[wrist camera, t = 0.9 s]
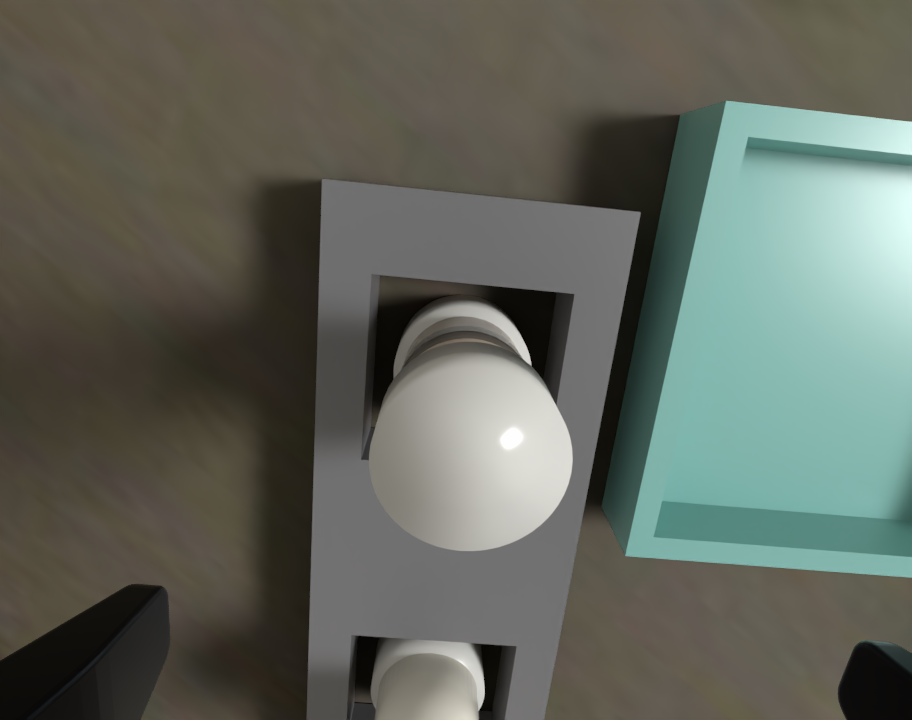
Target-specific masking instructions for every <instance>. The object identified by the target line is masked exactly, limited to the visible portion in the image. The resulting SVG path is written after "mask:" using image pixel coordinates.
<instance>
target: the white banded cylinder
mask: <svg viewBox="0 0 912 720" xmlns="http://www.w3.org/2000/svg"><path fill="white" fill-rule="evenodd" d="M572 463H573V455H572V445H571V439H570V435H569V432H568V429H567V426H566V424H565V422H564V420H563V418H562V416H561V414H560V412H559V410H558V408H557V406H556V404H555V402H554V400H553V398H552V396H551V394H550V392H549V390H548V388H547V386H546V384H545V382H544V381H543V380H542V378H541V377H540V375H539V374H538V373H537V372H536V371H535V369H534V368H533V367H532V366H531V360H530V355H529V352H528V349H527V347H526V345H525V343H524V341H523V339H522V337H521V335H520V333H519V331H518V329H517V327H516V325H515V323H514V322H513V320H512V319H511V318H510V317H509V315H508V314H507V313H506V312H505V311H504V310H502V309H501V308H500V307H499V306H497V305H496V304H494V303H492V302H490V301H488V300H486V299H483V298H480V297H477V296H471V295H451V296H447V297H442V298H440V299H437V300H434V301H433V302H431V303H429V304H427V305H426V306H424V307H423V308H421V309H420V310H419V311H418V312H417V313H416V314H415V315H414V316H413V317H412V318H411V320H410V321H409V322H408V324H407V326H406V327H405V329H404V332H403V334H402V337H401V340H400V344H399V347H398V350H397V354H396V357H395V362H394V379H393V381H392V383H391V384H390V386H389V387H388V390H387V392H386V394H385V396H384V399H383V402H382V406H381V409H380V413H379V416H378V420H377V423H376V427H375V430H374V434H373V437H372V441H371V444H370V452H369V470H370V477H371V481H372V485H373V488H374V491H375V493H376V495H377V497H378V500H379V502H380V503H381V505H382V506H383V508H384V509H385V511H386V512H387V514H388V515H389V516H390V517H391V518H392V519H393V520H394V522H396V523H397V524H398V525H399V526H400V527H401V528H402V529H404V530H405V531H406V532H408V533H409V534H411V535H412V536H414V537H416V538H418V539H420V540H422V541H424V542H426V543H429V544H431V545H434V546H437V547H441V548H445V549H449V550H457V551H481V550H488V549H493V548H498V547H501V546H504V545H507V544H510V543H512V542H515V541H517V540H519V539H521V538H523V537H524V536H526V535H528V534H529V533H531V532H533V531H534V530H535V529H536V528H538V527H539V526H540V525H541V524H543V522H544V521H545V520H546V519H547V518H548V517H549V516H550V515H551V514H552V513H553V512H554V510H555V509H556V508H557V506H558V505H559V503H560V501H561V500H562V498H563V496H564V494H565V491H566V489H567V487H568V484H569V480H570V476H571V472H572Z"/></svg>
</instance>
